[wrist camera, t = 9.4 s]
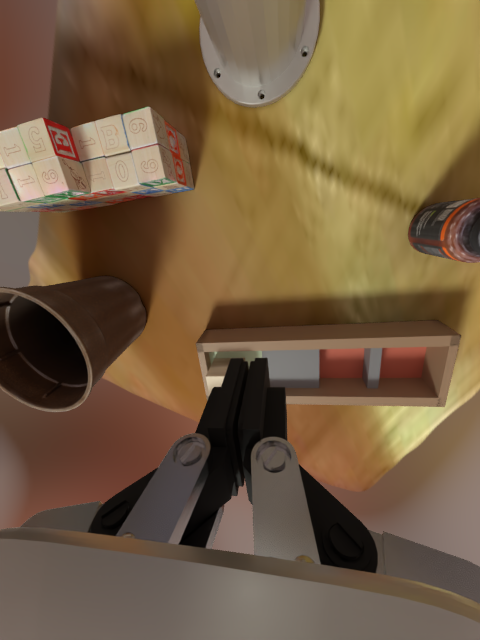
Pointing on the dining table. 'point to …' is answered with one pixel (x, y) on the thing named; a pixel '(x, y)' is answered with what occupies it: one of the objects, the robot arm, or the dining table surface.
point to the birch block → (217, 372)
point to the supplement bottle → (448, 230)
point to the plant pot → (64, 338)
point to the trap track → (346, 361)
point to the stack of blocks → (91, 163)
